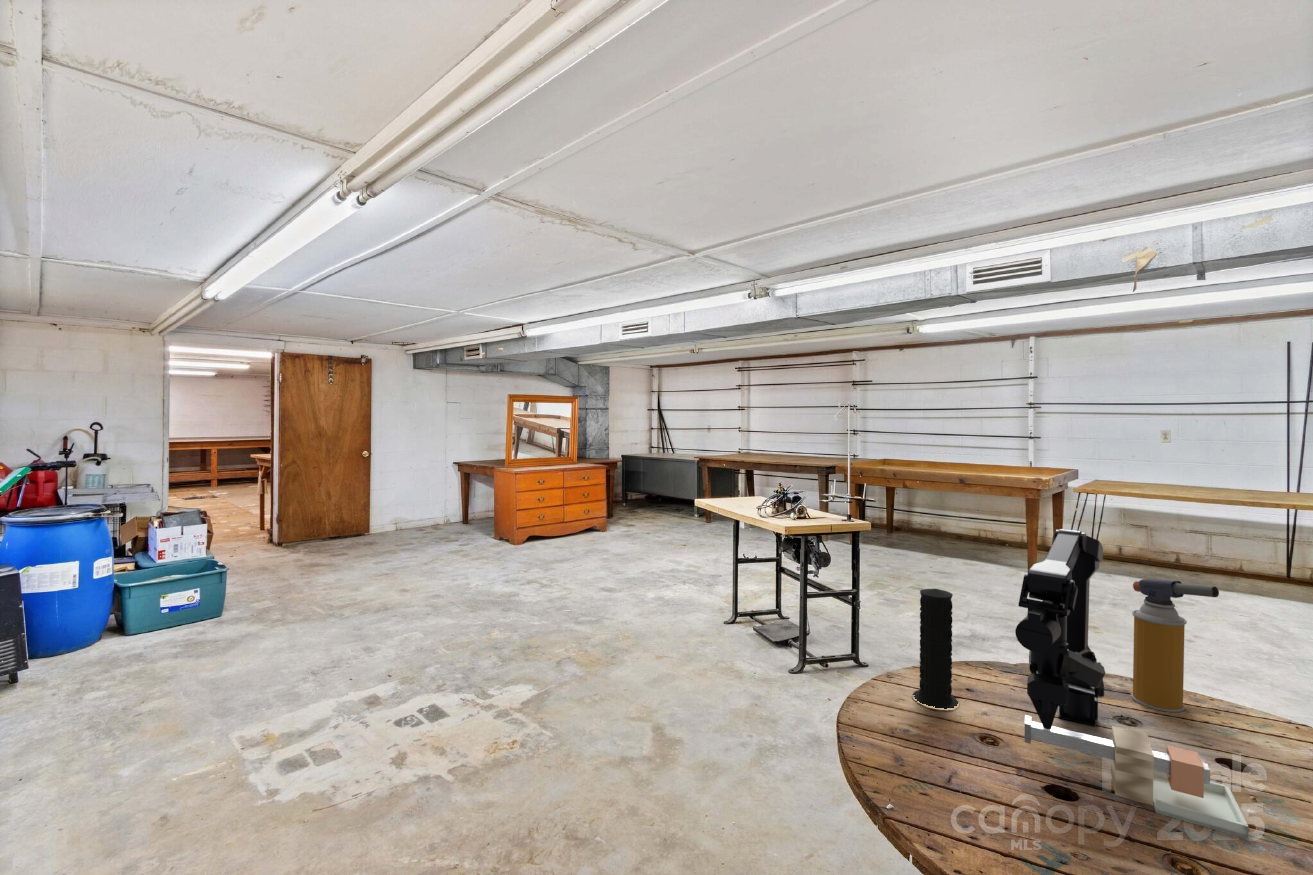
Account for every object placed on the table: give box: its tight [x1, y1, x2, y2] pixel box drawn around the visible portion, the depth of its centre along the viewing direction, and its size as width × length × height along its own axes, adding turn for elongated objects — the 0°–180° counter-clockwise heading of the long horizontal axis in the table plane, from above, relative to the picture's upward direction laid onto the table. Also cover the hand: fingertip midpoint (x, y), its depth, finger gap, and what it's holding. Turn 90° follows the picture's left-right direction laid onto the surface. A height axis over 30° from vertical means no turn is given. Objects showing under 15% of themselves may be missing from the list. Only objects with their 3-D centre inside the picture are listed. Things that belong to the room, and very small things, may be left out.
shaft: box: [1023, 714, 1211, 785], centre depth 104 cm, size 26×4×4 cm, turn 56°
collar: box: [1166, 744, 1204, 798], centre depth 98 cm, size 4×5×5 cm
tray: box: [1153, 771, 1249, 840], centre depth 98 cm, size 11×12×2 cm
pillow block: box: [1110, 725, 1154, 807], centre depth 102 cm, size 5×8×9 cm, turn 146°
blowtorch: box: [1130, 578, 1220, 713], centre depth 130 cm, size 9×16×30 cm, turn 15°
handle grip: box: [912, 588, 959, 709], centre depth 134 cm, size 10×26×10 cm
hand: (1047, 717), depth 109 cm, fingers open, 9 cm apart
